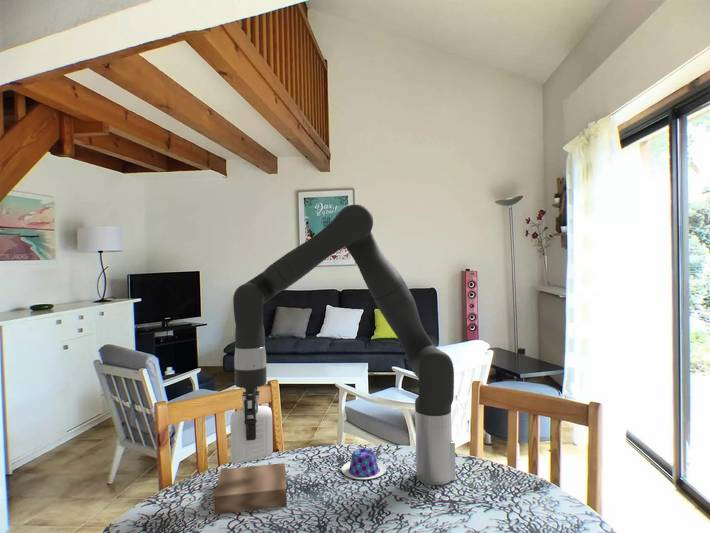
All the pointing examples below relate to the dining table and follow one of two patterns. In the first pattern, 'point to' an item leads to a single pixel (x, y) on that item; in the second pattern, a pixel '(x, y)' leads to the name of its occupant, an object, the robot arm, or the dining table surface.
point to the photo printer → (253, 448)
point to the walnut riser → (250, 488)
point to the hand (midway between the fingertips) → (251, 434)
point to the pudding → (363, 465)
